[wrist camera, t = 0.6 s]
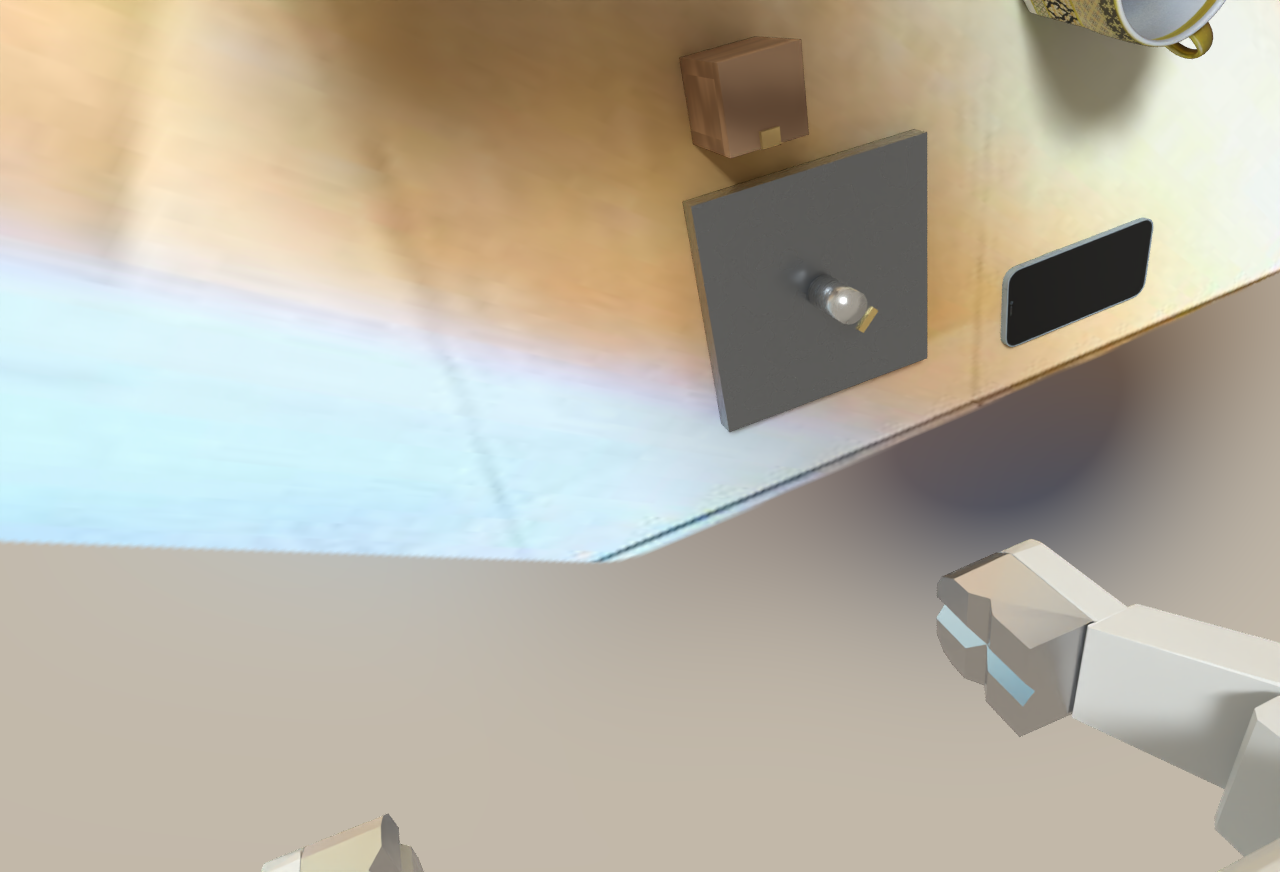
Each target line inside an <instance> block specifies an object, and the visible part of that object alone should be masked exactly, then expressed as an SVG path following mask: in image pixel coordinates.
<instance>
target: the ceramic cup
mask: <svg viewBox="0 0 1280 872" xmlns="http://www.w3.org/2000/svg"><path fill="white" fill-rule="evenodd" d="M1225 1H1226V0H1024V2H1025V4H1026V6H1027V8H1028V10H1029V11H1030V12H1031V13H1034V14H1038V15H1040V16H1044V17H1049V18H1052V19H1056V20H1059V21H1063V22H1066V23H1070V24H1073V25H1077V26H1082V27H1085V28H1088V29H1090V30H1092V31H1095V32H1097V33H1100V34H1103V35H1106V36H1109V37H1113V38H1116V39H1120V40H1123V41H1126V42H1131V43H1136V44H1140V45H1145V46H1150V47H1164V46H1165V47H1166V48H1167V49H1169V50H1170V51H1171V52H1173V53H1174V54H1176V55H1178V56H1180V57H1183V58H1187V59H1194V58H1198V57H1200V56H1202V55H1203V54H1205V53H1206V52H1207V51H1208V50H1209V48H1210V47H1211V45H1212V41H1213V32H1212V28H1211V26H1210V24H1209V23H1208V21H1209V20H1210V19H1211V18H1212V17H1213V16H1214V15H1215V14H1216V13H1217V11H1218V10H1219V9H1220V8H1221V6H1222V5H1223V4H1224V2H1225ZM1188 37H1189V38H1190V39H1191V40H1192V42H1193V43H1194V44H1195V46H1196V48H1197V49H1190V48H1187V47H1185V46H1183V45H1182V44H1180V43H1179V42H1180V41H1182V40H1184V39H1186V38H1188Z"/></svg>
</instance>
